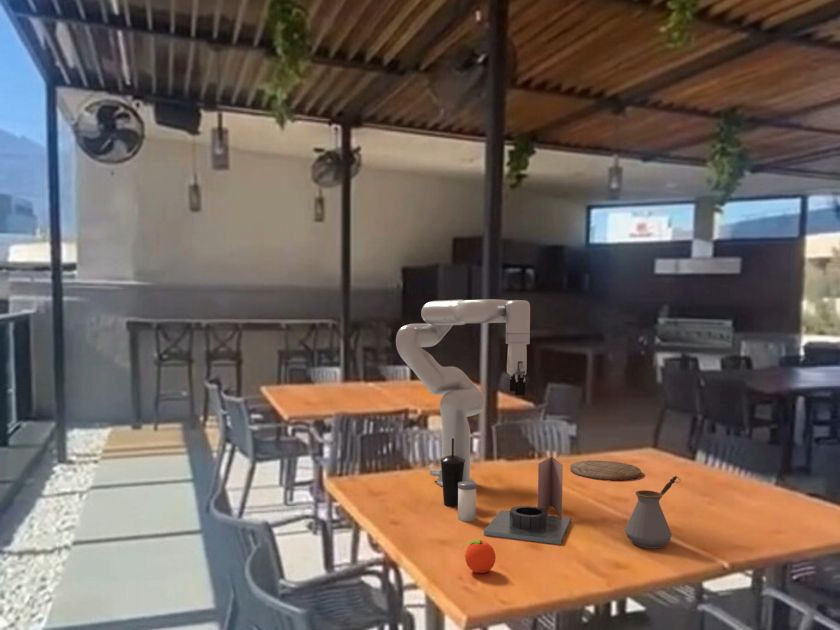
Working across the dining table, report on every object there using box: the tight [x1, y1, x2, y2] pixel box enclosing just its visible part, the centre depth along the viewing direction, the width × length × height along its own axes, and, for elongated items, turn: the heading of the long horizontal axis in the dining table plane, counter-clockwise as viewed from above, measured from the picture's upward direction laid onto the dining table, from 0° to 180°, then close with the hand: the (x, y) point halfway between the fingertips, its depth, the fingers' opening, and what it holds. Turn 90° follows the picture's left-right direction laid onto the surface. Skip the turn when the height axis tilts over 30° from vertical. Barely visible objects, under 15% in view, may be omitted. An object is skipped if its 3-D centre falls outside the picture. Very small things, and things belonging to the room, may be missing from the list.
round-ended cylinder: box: [457, 481, 477, 523], centre depth 198 cm, size 5×5×10 cm
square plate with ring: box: [483, 505, 572, 546], centre depth 190 cm, size 20×20×5 cm
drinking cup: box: [439, 438, 465, 508], centre depth 212 cm, size 8×8×20 cm
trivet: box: [569, 459, 642, 482], centre depth 256 cm, size 25×25×2 cm
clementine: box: [461, 540, 497, 574], centre depth 159 cm, size 8×7×7 cm
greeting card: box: [537, 456, 564, 517], centre depth 206 cm, size 11×7×15 cm, turn 150°
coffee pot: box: [624, 475, 682, 549], centre depth 183 cm, size 21×12×15 cm, turn 134°
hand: (517, 393), depth 222 cm, fingers open, 9 cm apart
